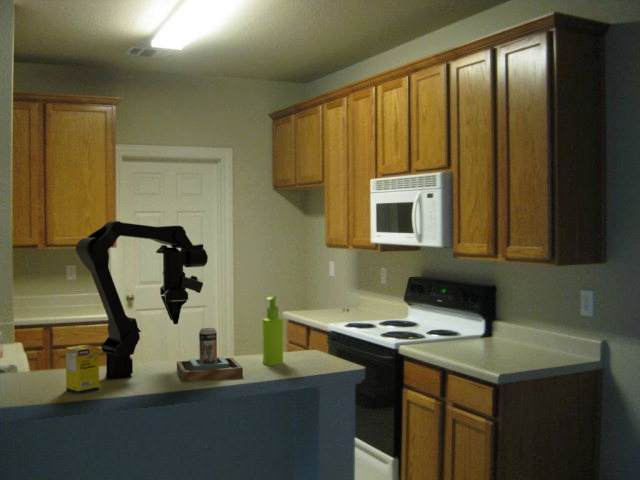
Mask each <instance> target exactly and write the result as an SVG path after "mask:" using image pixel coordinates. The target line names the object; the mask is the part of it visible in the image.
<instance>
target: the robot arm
mask: <svg viewBox="0 0 640 480" xmlns="http://www.w3.org/2000/svg"><path fill="white" fill-rule="evenodd" d="M119 237H129V238H137V239H146V240H151V241H154V242H156V243H159V244H161V245H160V247H159V248H158V249H157V250H156V251H155V253H156V254H162V276H163V279H162V281H163V284H162V285H161V287H160V288H159V294H160V297H161V300H162V302H163V305H164V308H165V310H166V312H167V315H168V317H169V319H170V320H171V321H172V323H173V325H178V324H179V319H180V316H181V310H182V307H183V305H184V304H186V303H187V302H188V301H189V293H188V292H187V289H188V290H190V291H194V292H196V293H198V294H201V292H202V289H203V286H204V282H202V281H199V279H198V277H197V276H195V275H193V274H192V275H191V276H190V277H187V276H186V273H185V272H184V268H201V267H205V266H206V265H207V263H208V261H209V257H208V254H207V251H206V249H205V248H204V244H203V243H198V244H193V243H192V242H191V239H190V238H189V237H188V236H187V232H186V230H185V228H184V226H181V225H158V226H157V225H156V226H152V225H145V224H138V223H137V224H135V223H130V222H129V223H127V222H122V221H120V220H114V221H113V220H110V221H107V222H106V223H105V224H104V225H103V226H102V227H100V228H99V229H97V230H95V231H93V232H92V233H90V234H89V235H88V236H87V237H82V238H80V239H79V241H77V244H76V246H75V253H76V254H77V255H78V257H79V259H80V261H81V263H82V264H83V265H84V267H85V268H87V270H88V271H89V272H90V274H91V276H92V278H93V282H94V284H95V288H96V289H97V292H98V293H97V294H98V295H99V298H100V300H101V303H102V306H103V309H104V311H105V314H106V316H107V320H108V322H107V332H108V337H107V338H106V339H105V340H104V342H103V343H102V344H101V346H100V348H101V350H102V353H103V354H105V358H106V359H105V361H106V363H105V365H106V366H105V367H106V368H105V369H106V370H105V371H106V372H105V378H106V380H110V379H111V380H112V379H123V378H124V379H125V378H132V374H133V373H134V372H133V371H134V370H133V363H134V362H133V357H132V355H134V354H135V350H136V347H137V345H138V344H139V340H140V339H141V336H140V333H141V332H142V330H141V329H139V326H138V322H137V319H136V318H135V317H129V316H127V314H126V312H125V310H124V307H123V304H122V301H121V297H120V295H119V293H118V290H117V288H116V284H115V282H114V280H113V277H112V274H111V271H110V269H109V264H110V263H109V261H110V255H109V249H110V248H111V247H113V245H114V244H115V243H116V241H117V240H118V238H119ZM168 246H169V247H168Z"/></svg>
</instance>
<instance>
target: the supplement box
mask: <svg viewBox="0 0 640 480" xmlns="http://www.w3.org/2000/svg"><path fill="white" fill-rule="evenodd" d="M99 359H100V358H99V347H98V346H93V345H90V344H82V345H75V346H68V347H65V375H66V376H65V380H66V383H65V386H66V387H65V389H66V391H68V392H71V393H75V394H76V395H79V394H80V395H81V394H84V393H90V392H95V391H99V390H100V372H99V371H100V370H99V369H100V368H99V366H100V364H99Z"/></svg>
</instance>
